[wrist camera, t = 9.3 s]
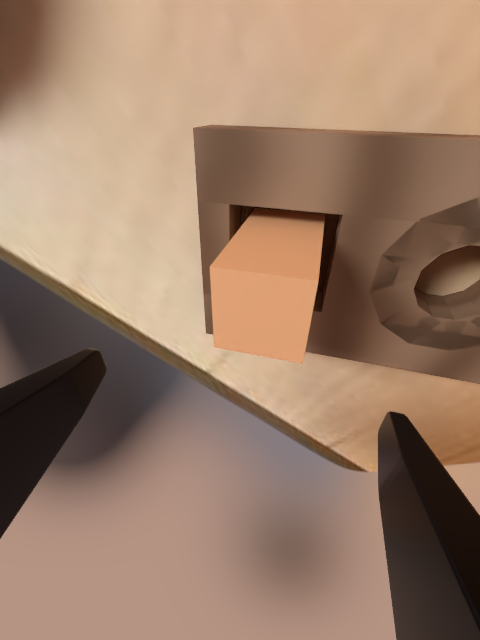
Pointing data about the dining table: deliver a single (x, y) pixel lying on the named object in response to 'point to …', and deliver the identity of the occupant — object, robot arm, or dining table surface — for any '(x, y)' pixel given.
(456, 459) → the dining table surface
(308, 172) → the socket board
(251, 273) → the square peg
